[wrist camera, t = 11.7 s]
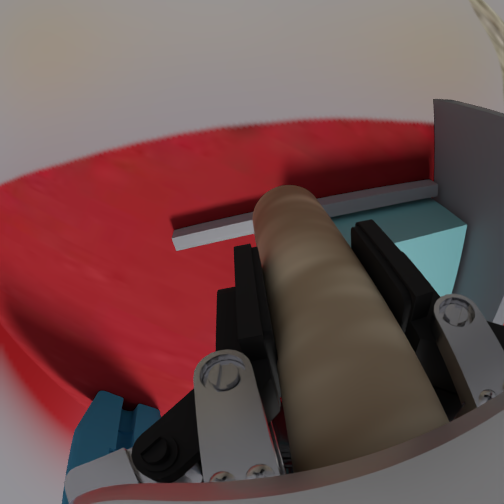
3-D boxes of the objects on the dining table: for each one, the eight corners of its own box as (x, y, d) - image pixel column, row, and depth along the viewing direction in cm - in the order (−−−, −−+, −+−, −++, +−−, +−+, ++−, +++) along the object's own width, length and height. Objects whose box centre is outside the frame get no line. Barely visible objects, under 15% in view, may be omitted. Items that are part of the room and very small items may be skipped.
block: (82, 398, 31) (59, 529, 14) (86, 383, 29) (60, 531, 12) (161, 426, 36) (159, 552, 19) (174, 413, 34) (173, 554, 17)
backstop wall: (451, 99, 17) (553, 131, 8) (418, 344, 31) (453, 407, 23) (145, 141, 17) (78, 199, 8) (240, 392, 32) (248, 470, 23)
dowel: (317, 179, 13) (500, 450, 2) (323, 241, 14) (436, 492, 4) (246, 192, 13) (297, 530, 2) (259, 254, 14) (305, 534, 4)
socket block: (430, 197, 21) (467, 224, 16) (414, 305, 27) (436, 338, 23) (290, 225, 21) (308, 263, 17) (304, 337, 27) (317, 378, 23)
